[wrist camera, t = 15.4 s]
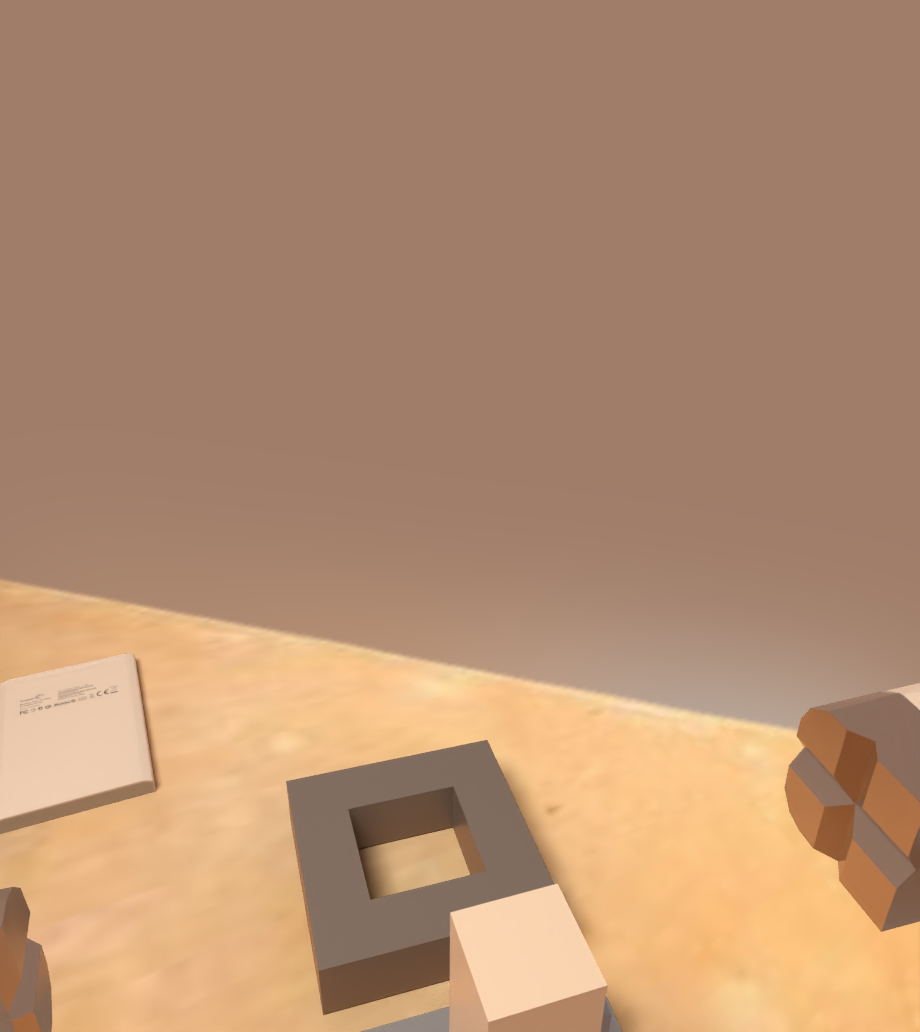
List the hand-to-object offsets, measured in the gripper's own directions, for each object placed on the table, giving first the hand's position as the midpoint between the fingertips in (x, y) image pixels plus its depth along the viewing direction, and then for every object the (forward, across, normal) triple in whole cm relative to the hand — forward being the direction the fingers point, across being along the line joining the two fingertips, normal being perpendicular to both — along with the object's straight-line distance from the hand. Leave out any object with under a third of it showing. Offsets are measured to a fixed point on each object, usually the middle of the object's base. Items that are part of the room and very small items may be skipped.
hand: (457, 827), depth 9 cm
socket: (+23, +5, -30) cm, 38 cm away
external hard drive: (+39, -12, -31) cm, 51 cm away
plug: (+9, +5, -30) cm, 32 cm away
